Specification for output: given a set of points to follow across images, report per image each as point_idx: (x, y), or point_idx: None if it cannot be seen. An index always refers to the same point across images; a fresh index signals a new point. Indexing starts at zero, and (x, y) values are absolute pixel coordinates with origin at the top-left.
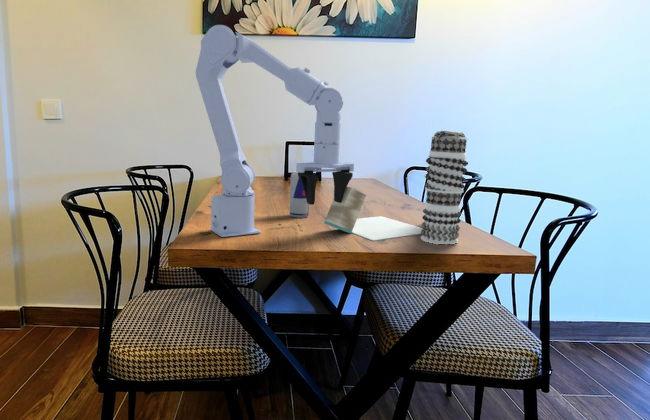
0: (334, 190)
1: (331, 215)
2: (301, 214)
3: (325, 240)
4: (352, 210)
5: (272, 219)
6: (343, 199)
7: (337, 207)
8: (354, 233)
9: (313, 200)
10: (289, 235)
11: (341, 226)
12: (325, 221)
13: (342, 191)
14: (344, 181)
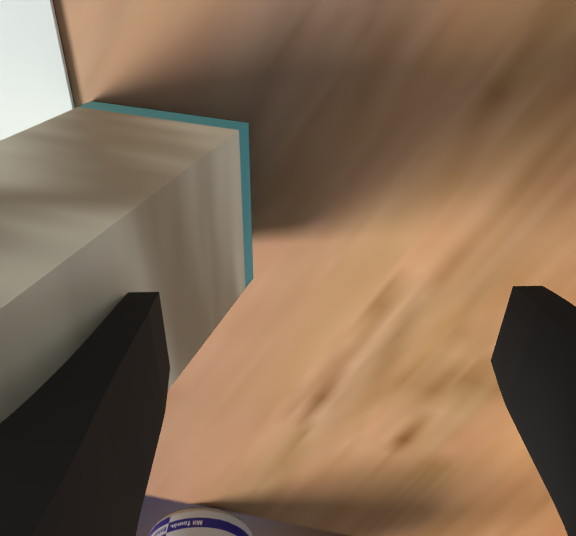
0: (145, 483)
1: (216, 272)
2: (211, 524)
3: (410, 8)
4: (18, 185)
5: (371, 516)
6: (93, 306)
7: (165, 287)
8: (66, 81)
9: (556, 306)
10: (530, 233)
11: (186, 124)
12: (246, 279)
13: (100, 370)
14: (27, 501)
